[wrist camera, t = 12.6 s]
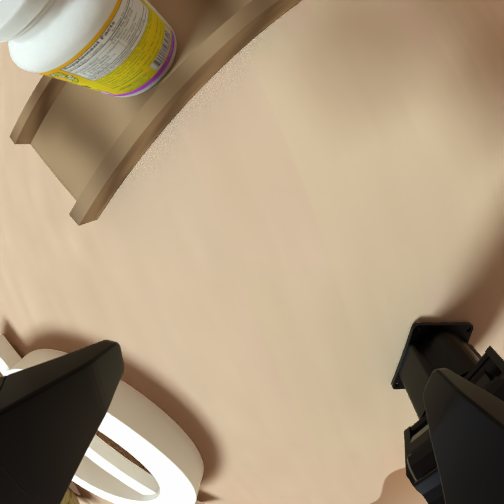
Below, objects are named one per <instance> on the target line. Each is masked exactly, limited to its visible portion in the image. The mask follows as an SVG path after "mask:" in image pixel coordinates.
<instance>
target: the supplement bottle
mask: <svg viewBox="0 0 504 504" xmlns="http://www.w3.org/2000/svg"><path fill="white" fill-rule="evenodd" d="M5 41H9V51H10V55H11V57H12V59H13V61H14V62H15V63H16V65H17V66H19V67H20V68H22V69H24V70H26V71H30V72H33V73H37V74H41V75H45V76H49V77H53V78H56V79H60V80H63V81H67V82H70V83H73V84H77V85H80V86H83V87H86V88H89V89H92V90H96V91H99V92H102V93H105V94H108V95H111V96H115V97H130V96H135V95H138V94H141V93H143V92H145V91H147V90H148V89H150V88H151V87H153V86H154V85H155V84H156V83H157V82H158V81H160V80H161V78H162V77H163V76H164V75H165V74H166V73H167V71H168V70H169V68H170V67H171V65H172V63H173V60H174V57H175V54H176V48H177V42H176V36H175V33H174V31H173V29H172V27H171V26H170V25H169V24H168V23H167V21H166V20H165V19H164V18H163V17H162V16H161V15H160V14H159V13H158V11H157V10H156V9H155V8H154V7H153V6H152V5H151V4H150V3H149V2H148V1H147V0H0V42H5Z"/></svg>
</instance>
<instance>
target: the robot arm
mask: <svg viewBox="0 0 504 504" xmlns="http://www.w3.org/2000/svg"><path fill="white" fill-rule="evenodd" d="M417 328H419V329H418V330H417V331H415V330H416V329H417ZM472 330H473V326H472V324H470V323H415V324H414V325H413V326H412V327H411V330H410V333H409V336H408V339H407V342H406V345H405V348H404V351H403V353H402V356H401V359H400V362H399V364H398V367H397V370H396V372H395V375H394V377H393V380H392V382H391V385H392V387H393V389H406V391H407V393H408V395H409V398H410V400H411V402H412V404H413V406H414V409H415V411H416V413H417V415H418V418H419V421H417V422H416V423H415V424H414V425H413V426H411V427H408V428H407V429H406V430H405V431H404V439H405V463H406V475H407V477H408V478H409V480H410V482H411V483H412V485H413V486H414V487H415V489H416V490H417V491H418V492H420V493H421V494H422V495H423V496H424V498H425V499H426V501H427V502H428V504H504V360H503V359H502V358H501V357H500V356H499V355H498V354H497V353H496V351H495V350H494V349H493V348H492V347H491V346H489V347H488V348H487V350H486V351H485V352H486V353H485V354H484V355H483V356H482V357H481V356H480V354H479V353H478V352H477V351H476V350H475V349H474V347H473V346H472V345H471V344H469V343H468V341H469V338H470V336H471V333H472ZM123 371H124V363H123V358H122V353H121V348H120V345H119V343H117V342H114V341H110V340H103V341H101V342H98V343H95V344H93V345H90V346H87V347H85V348H82V349H79V350H76V351H74V352H71V353H68V354H66V355H63V356H60V357H57V358H54V359H52V360H49V361H46V362H43V363H40V364H38V365H35V366H32V367H29V368H26V369H23V370H20V371H17V372H14V373H12V374H9V375H7V376H2V377H0V504H61V502H62V500H63V498H64V495H65V493H66V491H67V489H68V487H69V485H70V483H71V481H72V479H73V477H74V475H75V473H76V471H77V469H78V467H79V465H80V463H81V461H82V459H83V457H84V455H85V453H86V451H87V449H88V447H89V445H90V443H91V442H92V440H93V438H94V436H95V434H96V432H97V430H98V428H99V426H100V425H101V423H102V421H103V419H104V417H105V415H106V413H107V411H108V409H109V406H110V404H111V401H112V399H113V396H114V394H115V391H116V389H117V386H118V384H119V382H120V379H121V377H122V374H123ZM397 383H398V384H397Z"/></svg>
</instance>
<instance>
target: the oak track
mask: <svg viewBox="0 0 504 504" xmlns="http://www.w3.org/2000/svg"><path fill="white" fill-rule="evenodd" d="M147 1H148V2H149V3H150V4H151V5H152V6H153V7H154V8H155V9H156V10H157V11H158V13H159V14H160V15H161V16H162V17H163V18H164V19H165V20H166V21H167V23H168V24H169V25H170V26H171V27H172V29H173V31H174V33H175V36H176V42H177V48H176V54H175V57H174V60H173V63H172V65H171V67H170V68H169V70H168V71H167V73H166V74H165V75H164V76H163V77H162V78H161V80H160V81H158V82H157V83H156V84H155V85H154V86H153V87H151V88H150V89H148V90H147V91H145V92H143V93H141V94H138V95H135V96H130V97H115V96H111V95H108V94H105V93H102V92H99V91H96V90H92V89H89V88H86V87H83V86H80V85H77V84H73V83H70V82H67V81H63V80H60V79H56V78H53V77H49V76H45V75H43V77H42V78H41V80H40V81H39V83H38V85H37V86H36V88H35V90H34V91H33V93H32V95H31V97H30V98H29V100H28V102H27V104H26V105H25V107H24V109H23V111H22V113H21V115H20V117H19V119H18V121H17V123H16V125H15V127H14V129H13V131H12V133H11V135H10V138H11V139H12V141H13V142H14V144H31V145H32V147H33V148H34V149H35V151H36V152H37V153H38V155H39V156H40V157H41V158H42V160H43V161H44V162H45V163H46V165H47V166H48V167H49V168H50V170H51V171H52V172H53V173H54V175H55V176H56V177H57V178H58V179H59V181H60V182H61V183H62V184H63V185H64V187H65V188H66V189H67V190H68V191H69V192H70V194H71V195H72V196H73V197H74V198H75V199H76V201H77V202H76V203H75V205H74V207H73V209H72V210H71V212H70V214H69V215H70V216H71V217H72V218H73V219H74V221H75V222H76V223H77V224H78V225H82V224H85V223H88V222H91V221H94V220H97V219H98V217H99V216H100V214H101V213H102V211H103V210H104V208H105V207H106V205H107V204H108V202H109V201H110V199H111V198H112V196H113V195H114V193H115V192H116V191H117V189H118V188H119V186H120V185H121V183H122V182H123V181H124V179H125V178H126V177H127V175H128V174H129V172H130V171H131V170H132V168H133V167H134V166H135V164H136V163H137V162H138V160H139V159H140V158H141V157H142V155H143V154H144V153H145V151H146V150H147V149H148V148H149V146H150V145H151V144H152V143H153V141H154V140H155V139H156V138H157V137H158V135H159V134H160V133H161V132H162V131H163V129H164V128H165V127H166V126H167V125H168V124H169V122H170V121H171V120H172V119H173V118H174V117H175V115H176V114H177V113H178V112H179V111H180V110H181V109H182V108H183V107H184V105H185V104H186V103H187V102H188V101H189V100H190V99H191V98H192V97H193V96H194V95H195V94H196V93H197V92H198V90H199V89H200V88H201V87H202V86H203V85H204V84H205V83H206V82H207V81H208V80H209V79H210V78H211V77H212V76H213V75H214V74H215V73H216V72H217V71H218V70H219V69H220V68H221V67H222V66H223V65H225V64H226V63H227V62H228V61H229V60H230V59H231V58H232V57H233V56H234V55H235V54H236V53H237V52H239V51H240V50H241V49H242V48H243V47H244V46H245V45H246V44H248V43H249V42H250V41H251V40H252V39H253V38H254V37H256V36H257V35H258V34H259V33H260V32H262V31H263V30H264V29H265V28H266V27H268V26H269V25H270V24H271V23H273V22H274V21H275V20H276V19H278V18H279V17H280V16H281V15H283V14H284V13H285V12H287V11H288V10H289V9H291V8H292V7H293V6H295V5H296V4H298V3H299V2H300V0H147Z"/></svg>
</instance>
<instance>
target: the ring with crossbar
mask: <svg viewBox="0 0 504 504" xmlns="http://www.w3.org/2000/svg"><path fill="white" fill-rule="evenodd" d="M66 354H68V353H66V352H63V351H58V350H53V349H37V350H34V351H31V352H30V353H28V354H27V355H26V356H24V357H23V358H21V357H20V356H19V355H18V353H17V352H16V351H15V350H14V348H13V347H12V346H11V345H10V343H9V342H8V341H7V339H6V338H5V337H4V335H3V334H2V335H0V371H1V373H2V374H3V375H4V376H7V375H9V374H12V373H14V372H17V371H20V370H23V369H26V368H29V367H32V366H35V365H38V364H40V363H43V362H46V361H49V360H52V359H54V358H57V357H60V356H63V355H66ZM98 431H100V432H101V433H103V434H104V435H106V436H107V437H109V438H110V439H112V440H113V441H114V442H116V443H117V444H118V445H120V446H121V447H122V448H124V449H125V450H126V451H127V452H129V453H130V454H131V455H132V456H134V457H135V458H136V459H137V460H138V461H139V462H140V463H141V464H142V465H144V466H145V467H146V468H147V469H148V471H149V472H150V473H151V474H152V475H153V476H152V475H151V474H149V473H148V472H146V471H144V470H143V469H141V468H140V467H138V466H137V465H135V464H134V463H133V462H131V461H130V460H128V459H127V458H125V457H124V456H123V455H121V454H120V453H119V452H117V451H116V450H115V449H113V448H112V447H111V446H109V445H108V444H107V443H105V442H104V441H103V440H102V439H100V438H99V437H98V436H97V435H95V436H94V438H93V440H92V442H91V443H90V445H89V447H88V449H87V451H86V453H85V455H84V457H83V459H82V461H81V463H80V465H79V467H78V469H77V471H76V473H75V475H74V477H73V479H72V481H73V482H75V483H76V484H78V485H79V486H81V487H83V488H84V489H86V490H88V491H90V492H91V493H93V494H95V495H97V496H99V497H101V498H103V499H106V500H108V501H110V502H113V503H115V504H204V503H202V502H200V501H198V500H196V499H197V495H198V491H199V488H200V484H201V481H202V477H203V473H204V465H203V461H202V458H201V455H200V453H199V451H198V449H197V448H196V446H195V444H194V443H193V442H192V440H191V439H190V438H189V436H188V435H187V434H186V433H185V432H184V431H183V429H182V428H181V427H180V426H179V425H178V424H177V423H176V422H175V421H174V420H173V419H172V418H171V417H169V416H168V415H167V414H166V413H165V412H164V411H163V410H161V409H160V408H159V407H158V406H157V405H155V404H154V403H153V402H152V401H150V400H149V399H148V398H146V397H145V396H144V395H142V394H141V393H140V392H138V391H137V390H136V389H134V388H133V387H131V386H130V385H128V384H127V383H125V382H124V381H122V380H121V379H120V382H119V384H118V386H117V389H116V391H115V394H114V396H113V399H112V401H111V404H110V406H109V409H108V411H107V413H106V415H105V417H104V419H103V421H102V423H101V425H100V426H99V428H98Z"/></svg>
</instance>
